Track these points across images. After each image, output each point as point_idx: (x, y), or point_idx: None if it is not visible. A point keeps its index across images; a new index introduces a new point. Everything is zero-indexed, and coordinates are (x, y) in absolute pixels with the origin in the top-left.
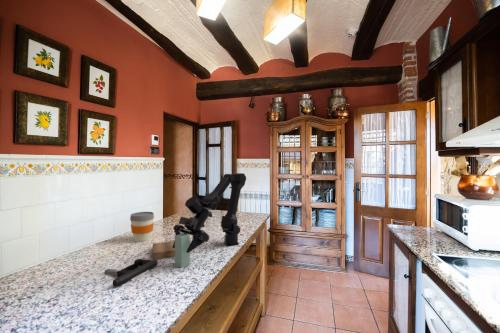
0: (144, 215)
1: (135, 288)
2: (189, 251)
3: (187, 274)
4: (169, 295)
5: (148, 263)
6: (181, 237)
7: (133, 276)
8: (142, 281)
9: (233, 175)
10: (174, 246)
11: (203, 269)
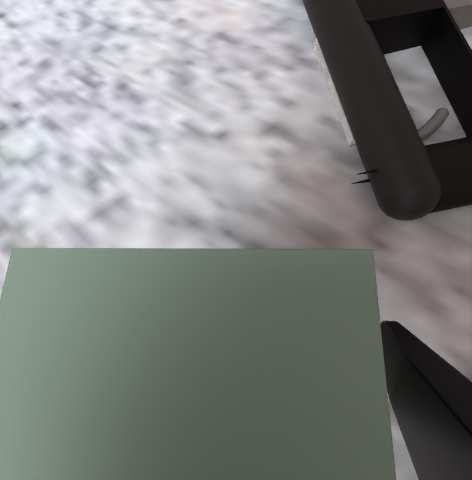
0: None
1: (223, 29)
2: None
3: None
4: (41, 87)
5: (385, 122)
6: (19, 261)
7: (316, 35)
8: (258, 73)
9: None
10: (387, 349)
11: None
